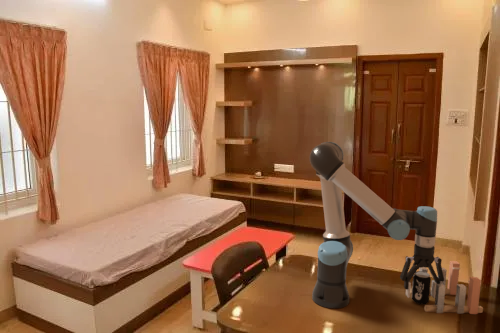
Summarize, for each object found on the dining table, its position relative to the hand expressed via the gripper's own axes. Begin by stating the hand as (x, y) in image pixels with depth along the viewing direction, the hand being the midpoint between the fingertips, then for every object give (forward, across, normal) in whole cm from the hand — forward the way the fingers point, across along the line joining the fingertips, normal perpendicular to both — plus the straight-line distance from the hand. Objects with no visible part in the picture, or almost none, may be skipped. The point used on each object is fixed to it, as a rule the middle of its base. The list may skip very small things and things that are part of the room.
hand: (420, 296), depth 161 cm
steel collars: (+2, +8, 0) cm, 8 cm away
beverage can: (+2, 0, 0) cm, 2 cm away
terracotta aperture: (+2, +17, 0) cm, 17 cm away
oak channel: (+2, +10, 0) cm, 10 cm away
